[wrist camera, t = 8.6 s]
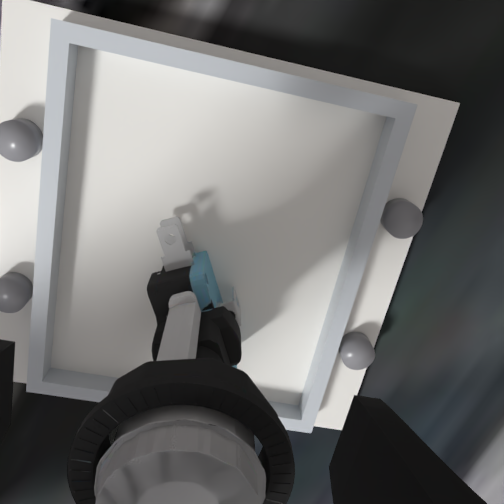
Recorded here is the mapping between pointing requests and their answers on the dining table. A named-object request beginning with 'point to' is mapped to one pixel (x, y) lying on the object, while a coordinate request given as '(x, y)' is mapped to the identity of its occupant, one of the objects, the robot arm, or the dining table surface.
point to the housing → (200, 203)
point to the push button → (184, 405)
